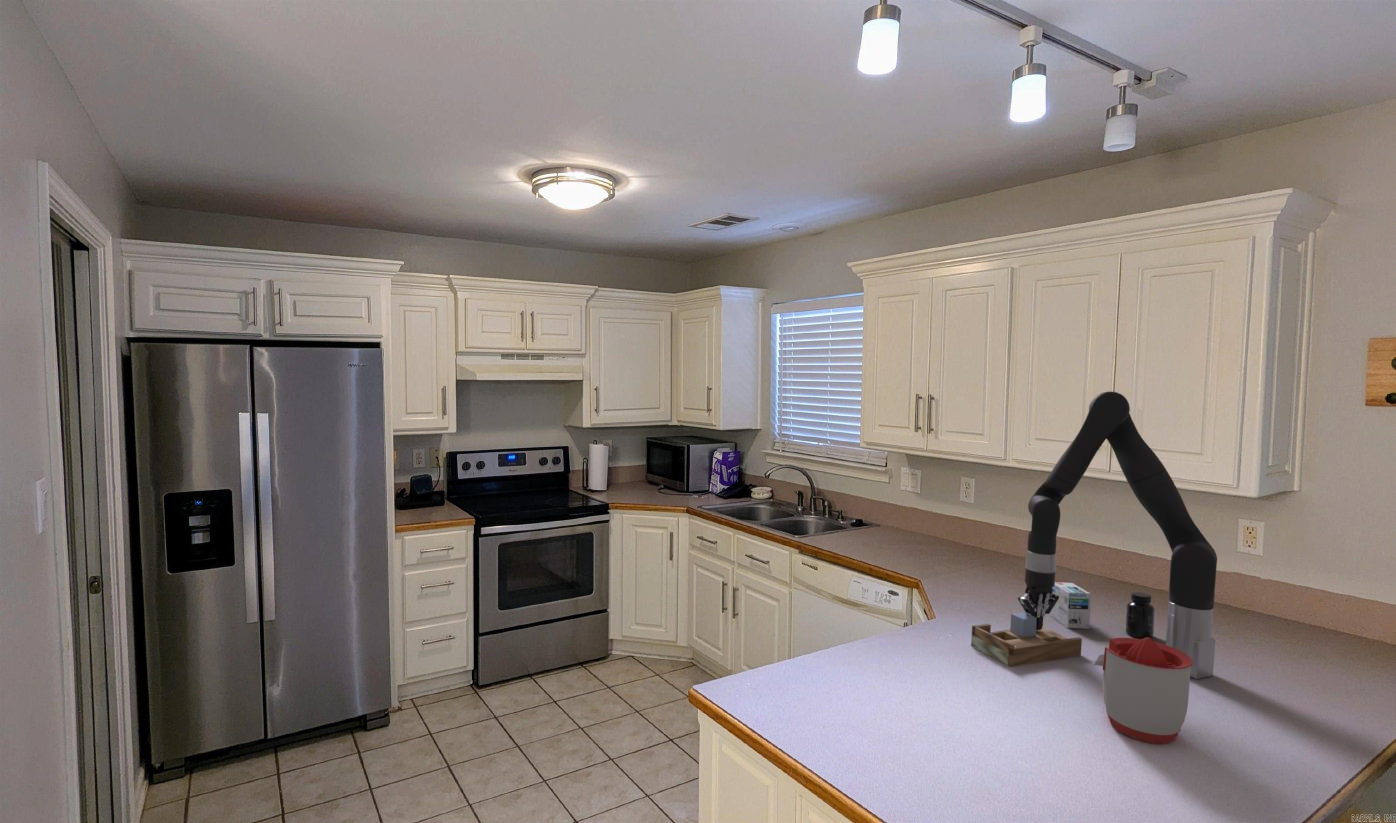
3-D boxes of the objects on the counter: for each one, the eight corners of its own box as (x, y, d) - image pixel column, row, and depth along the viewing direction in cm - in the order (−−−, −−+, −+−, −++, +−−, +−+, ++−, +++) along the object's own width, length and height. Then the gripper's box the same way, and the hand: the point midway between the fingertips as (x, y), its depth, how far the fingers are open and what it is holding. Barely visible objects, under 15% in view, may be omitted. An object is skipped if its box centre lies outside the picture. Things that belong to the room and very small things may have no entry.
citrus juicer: (1097, 702, 159) (1102, 616, 157) (1190, 728, 148) (1197, 636, 146) (1083, 728, 146) (1088, 635, 145) (1183, 759, 135) (1190, 659, 134)
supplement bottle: (1145, 631, 204) (1147, 591, 203) (1158, 640, 197) (1161, 598, 196) (1120, 629, 204) (1123, 589, 203) (1132, 638, 197) (1135, 597, 197)
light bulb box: (1090, 629, 204) (1092, 593, 204) (1066, 628, 204) (1069, 592, 204) (1071, 616, 215) (1073, 582, 214) (1049, 615, 215) (1051, 581, 214)
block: (1035, 635, 190) (1036, 617, 190) (1022, 637, 188) (1023, 619, 188) (1022, 629, 194) (1023, 612, 194) (1010, 631, 193) (1011, 613, 192)
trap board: (1080, 654, 185) (1082, 634, 185) (1010, 666, 177) (1011, 645, 176) (1038, 635, 198) (1039, 616, 198) (971, 645, 190) (972, 625, 189)
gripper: (1032, 573, 186) (1028, 636, 188) (1069, 569, 191) (1066, 631, 192) (1011, 565, 193) (1007, 626, 195) (1047, 562, 198) (1044, 621, 199)
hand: (1036, 628), depth 193 cm, fingers closed
